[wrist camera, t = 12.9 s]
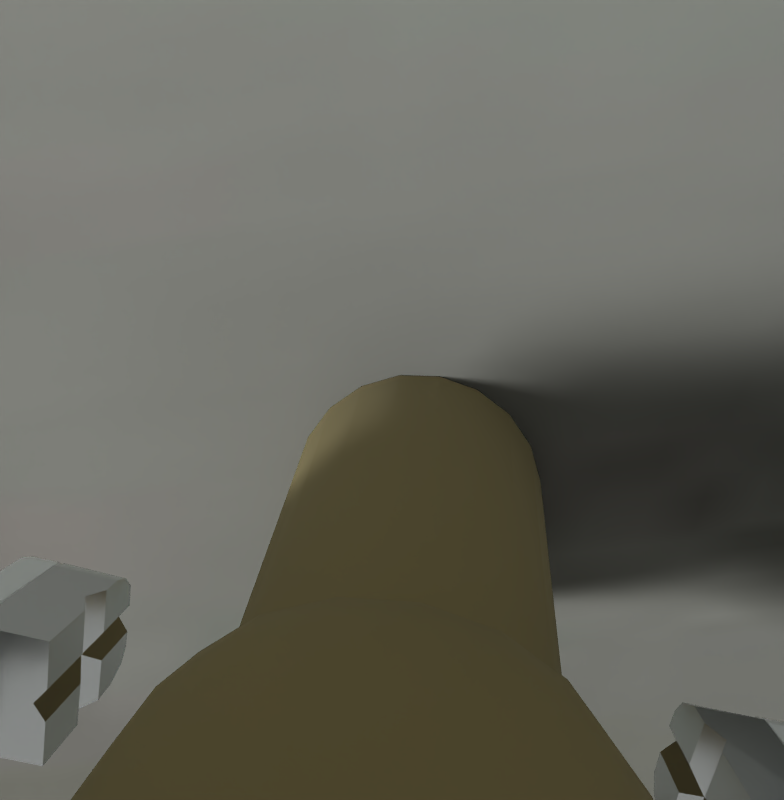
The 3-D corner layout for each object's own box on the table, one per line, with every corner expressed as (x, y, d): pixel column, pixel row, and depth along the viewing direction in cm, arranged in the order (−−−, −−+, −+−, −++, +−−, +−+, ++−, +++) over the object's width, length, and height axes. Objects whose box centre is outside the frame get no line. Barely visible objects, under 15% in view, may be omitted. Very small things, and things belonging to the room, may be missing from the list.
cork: (589, 450, 13) (1287, 1276, 2) (463, 642, 14) (520, 1709, 4) (363, 328, 13) (-38, 589, 2) (258, 535, 14) (-302, 1316, 4)
